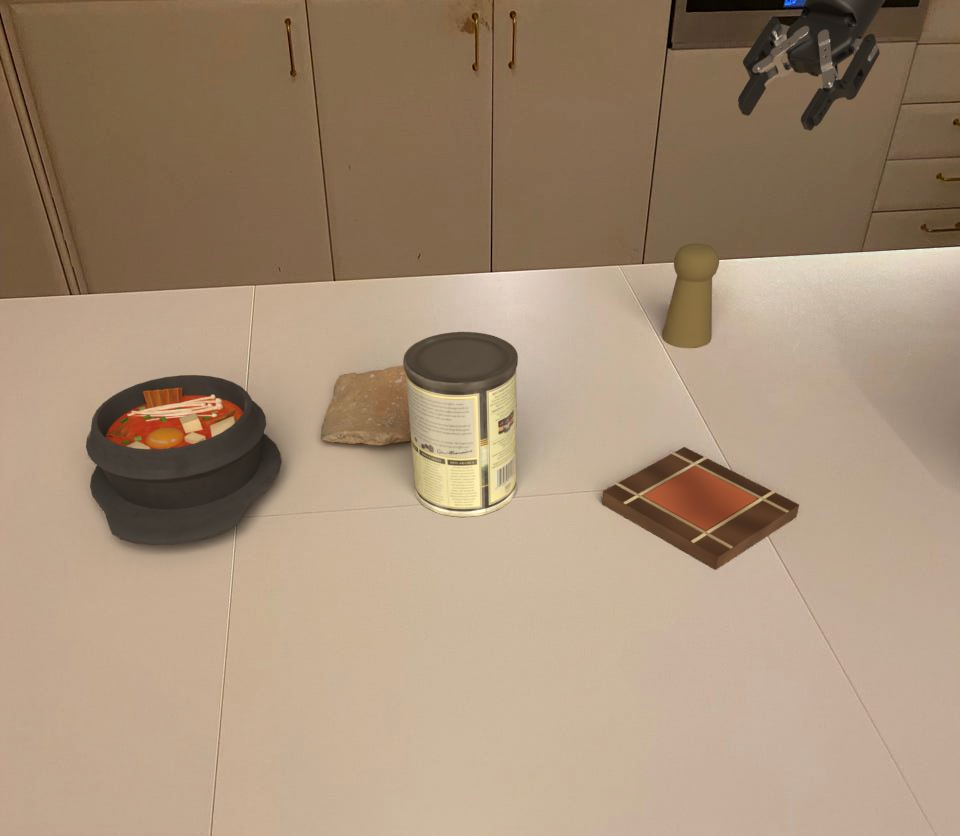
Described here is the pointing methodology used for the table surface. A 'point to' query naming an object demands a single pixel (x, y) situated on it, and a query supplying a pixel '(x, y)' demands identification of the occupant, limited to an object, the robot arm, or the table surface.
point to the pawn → (692, 297)
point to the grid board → (700, 506)
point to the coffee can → (463, 422)
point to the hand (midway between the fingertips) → (773, 118)
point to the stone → (369, 408)
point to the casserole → (179, 459)
